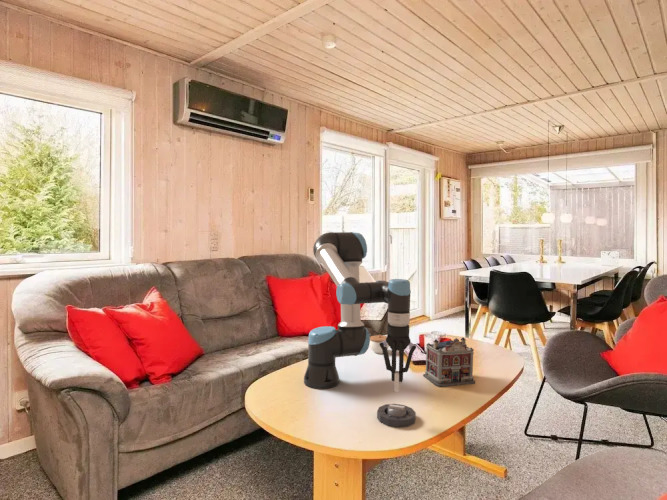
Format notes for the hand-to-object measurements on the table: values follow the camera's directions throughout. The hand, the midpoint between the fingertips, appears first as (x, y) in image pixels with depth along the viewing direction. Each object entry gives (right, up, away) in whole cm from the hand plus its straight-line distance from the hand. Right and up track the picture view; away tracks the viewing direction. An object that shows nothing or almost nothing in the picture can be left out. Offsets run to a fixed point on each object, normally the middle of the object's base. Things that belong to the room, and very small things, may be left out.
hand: (396, 390), depth 151 cm
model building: (+29, -9, +40) cm, 50 cm away
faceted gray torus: (0, -10, +1) cm, 10 cm away
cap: (0, -10, 0) cm, 10 cm away
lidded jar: (+2, -6, +79) cm, 80 cm away
